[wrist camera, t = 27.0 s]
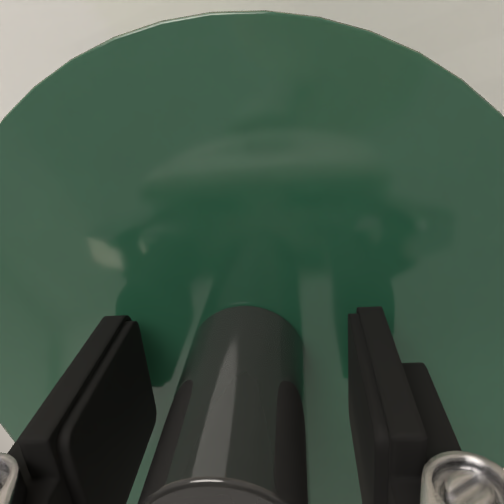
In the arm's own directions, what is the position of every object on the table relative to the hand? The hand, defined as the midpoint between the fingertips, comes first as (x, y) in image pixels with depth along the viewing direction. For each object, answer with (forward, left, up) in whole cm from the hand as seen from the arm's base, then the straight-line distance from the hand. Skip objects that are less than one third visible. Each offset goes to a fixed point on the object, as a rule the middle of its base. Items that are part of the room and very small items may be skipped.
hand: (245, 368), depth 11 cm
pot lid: (0, 0, -1) cm, 1 cm away
